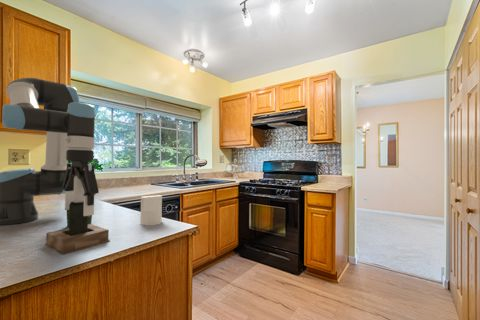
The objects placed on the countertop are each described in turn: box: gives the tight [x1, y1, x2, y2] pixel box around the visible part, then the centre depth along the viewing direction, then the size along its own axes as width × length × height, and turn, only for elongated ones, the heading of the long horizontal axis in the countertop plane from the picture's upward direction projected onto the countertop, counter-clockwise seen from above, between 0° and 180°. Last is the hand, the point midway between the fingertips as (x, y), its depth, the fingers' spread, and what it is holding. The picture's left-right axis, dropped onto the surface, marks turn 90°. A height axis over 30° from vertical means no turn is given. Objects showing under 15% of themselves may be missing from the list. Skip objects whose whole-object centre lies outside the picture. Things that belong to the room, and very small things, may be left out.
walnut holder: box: [44, 223, 110, 255], centre depth 75 cm, size 14×14×4 cm
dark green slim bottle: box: [68, 176, 88, 236], centre depth 75 cm, size 5×5×25 cm
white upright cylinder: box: [139, 194, 163, 226], centre depth 102 cm, size 9×9×12 cm
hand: (78, 212), depth 75 cm, fingers open, 13 cm apart
